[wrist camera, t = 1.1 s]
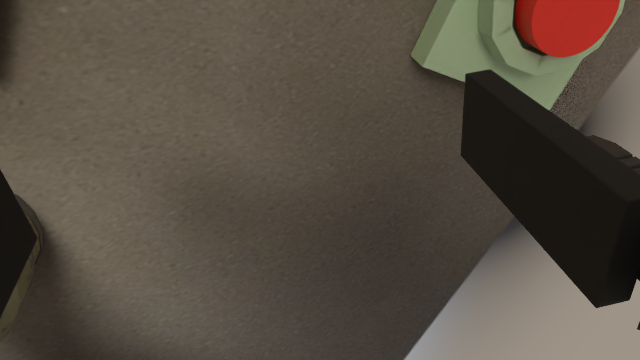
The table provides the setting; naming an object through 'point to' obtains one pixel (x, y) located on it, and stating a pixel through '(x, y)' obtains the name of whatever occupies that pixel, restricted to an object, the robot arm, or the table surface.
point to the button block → (493, 48)
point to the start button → (564, 24)
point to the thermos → (3, 324)
